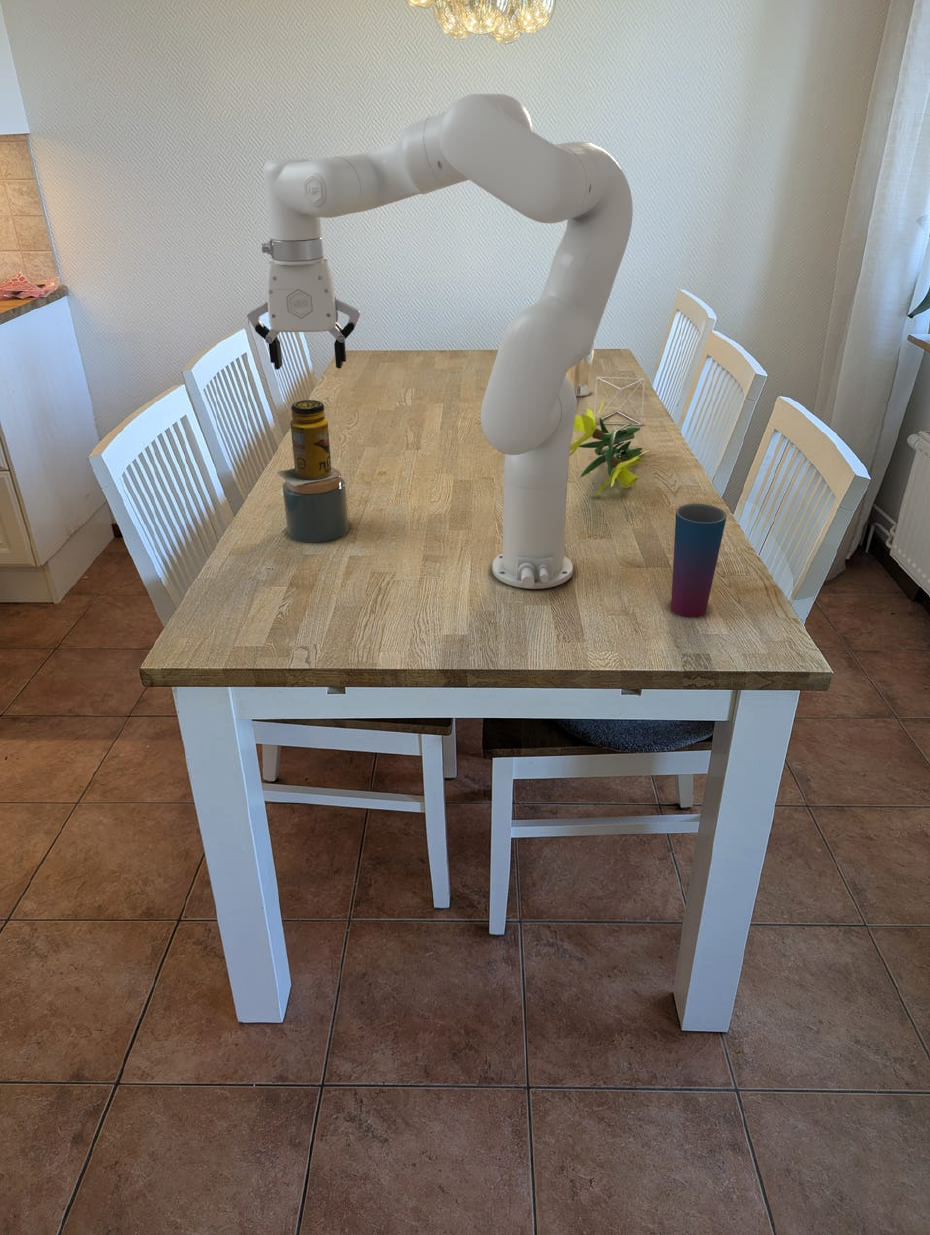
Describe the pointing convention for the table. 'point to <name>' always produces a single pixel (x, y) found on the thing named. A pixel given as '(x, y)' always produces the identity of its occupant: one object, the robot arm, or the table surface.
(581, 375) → the beer glass
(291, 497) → the blue jar
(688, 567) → the cup
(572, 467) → the table surface
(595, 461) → the daffodil flowers
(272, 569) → the table surface
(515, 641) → the table surface
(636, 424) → the geometric polyhedron
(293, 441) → the yellow coffee bottle
